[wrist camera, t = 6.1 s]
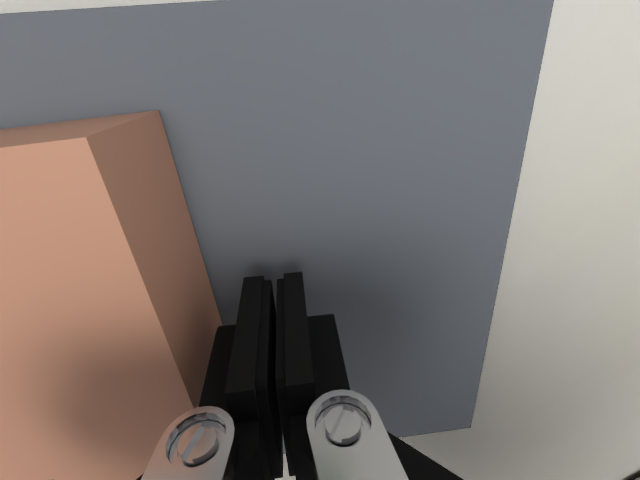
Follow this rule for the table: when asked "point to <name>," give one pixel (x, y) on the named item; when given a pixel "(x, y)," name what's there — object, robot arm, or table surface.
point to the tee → (96, 298)
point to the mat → (324, 158)
